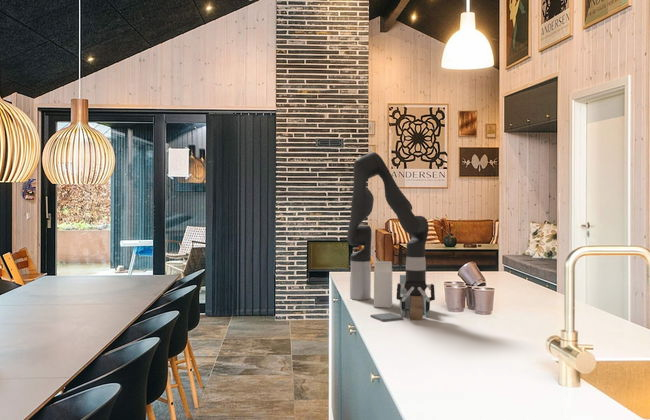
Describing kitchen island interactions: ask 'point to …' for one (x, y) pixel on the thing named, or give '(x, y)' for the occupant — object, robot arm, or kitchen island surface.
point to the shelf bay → (407, 300)
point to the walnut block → (416, 307)
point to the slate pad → (386, 317)
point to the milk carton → (383, 284)
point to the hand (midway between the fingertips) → (415, 311)
